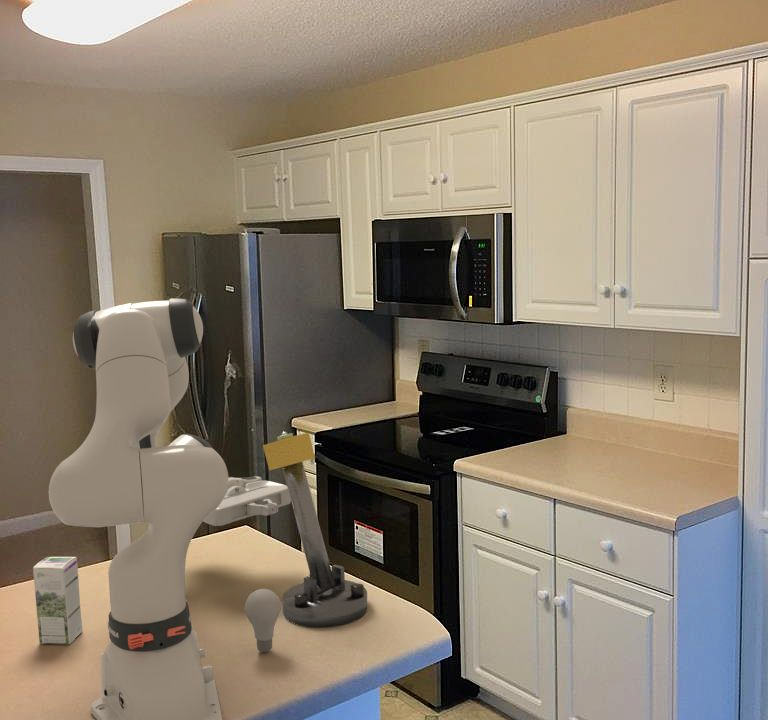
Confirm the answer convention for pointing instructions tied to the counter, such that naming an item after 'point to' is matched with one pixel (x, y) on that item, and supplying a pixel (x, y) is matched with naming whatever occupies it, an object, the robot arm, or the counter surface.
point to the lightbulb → (263, 616)
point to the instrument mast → (302, 502)
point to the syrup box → (57, 600)
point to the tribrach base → (325, 602)
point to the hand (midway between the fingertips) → (272, 510)
